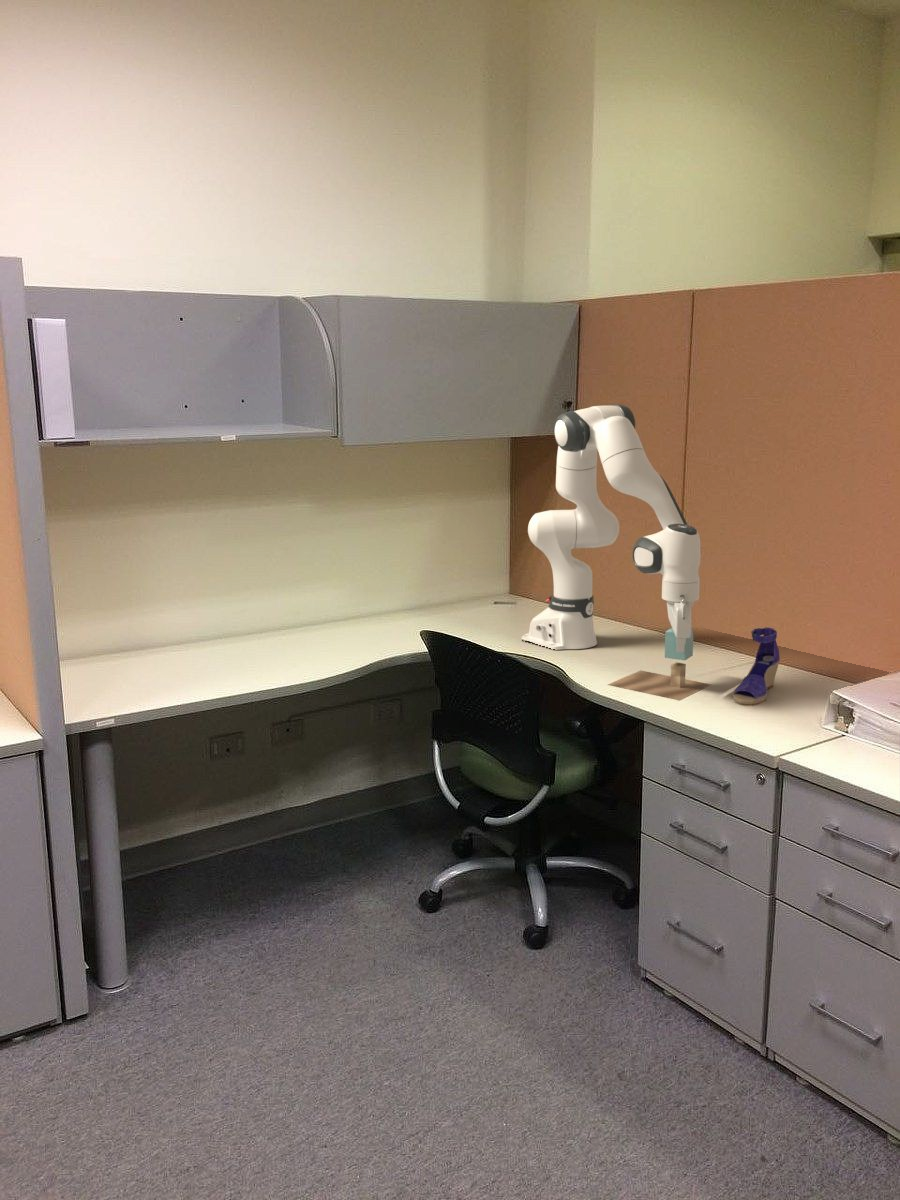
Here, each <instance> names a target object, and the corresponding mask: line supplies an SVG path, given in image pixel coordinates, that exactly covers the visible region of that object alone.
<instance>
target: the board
mask: <svg viewBox="0 0 900 1200" xmlns="http://www.w3.org/2000/svg"><path fill="white" fill-rule="evenodd" d="M670 681H671V675H665V674H661V673H656V672H653V671H652V672H651V671H647V670H638V671H636V672H633V673H632V674H628V675H626V676H624V677H622V678H619V679H617V680H615V681H612V682H610V683H608V684H607V686H610V687H614V688H615V687H616V688H619V689H620V688H621V689H623V690H624V689H625V690H629V691H634V692H637V693H638V692H639V693H642V694H647V695H652V696H656V697H661V698H666V699H671V700H676V701H678V702H679V701H682V700H684V699H686V698H688V697H690V696H692V695H694V694H695V693H697V692H700V691H701V690H702V691H703V690H704V689H706V688H707V687H710V686H712V684H711V683H706V682H700V681H695V680H691V679H686V678H685V686H683V687H681V688H678V687H673V686H670Z"/></svg>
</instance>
